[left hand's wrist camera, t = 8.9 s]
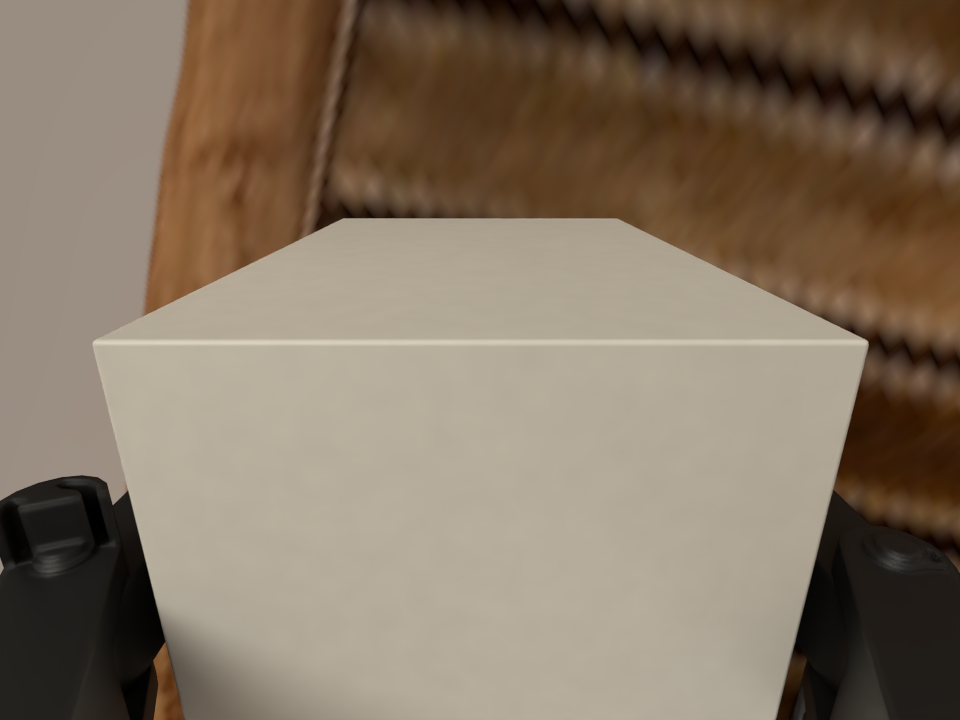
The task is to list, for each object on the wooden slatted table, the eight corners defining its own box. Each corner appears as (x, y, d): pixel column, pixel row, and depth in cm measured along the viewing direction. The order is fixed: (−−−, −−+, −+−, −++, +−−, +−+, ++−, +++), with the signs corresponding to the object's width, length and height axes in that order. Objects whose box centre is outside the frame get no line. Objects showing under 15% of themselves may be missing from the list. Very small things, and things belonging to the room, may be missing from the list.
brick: (618, 218, 15) (872, 340, 5) (597, 477, 18) (740, 872, 8) (341, 218, 15) (88, 341, 5) (363, 477, 18) (220, 872, 8)
